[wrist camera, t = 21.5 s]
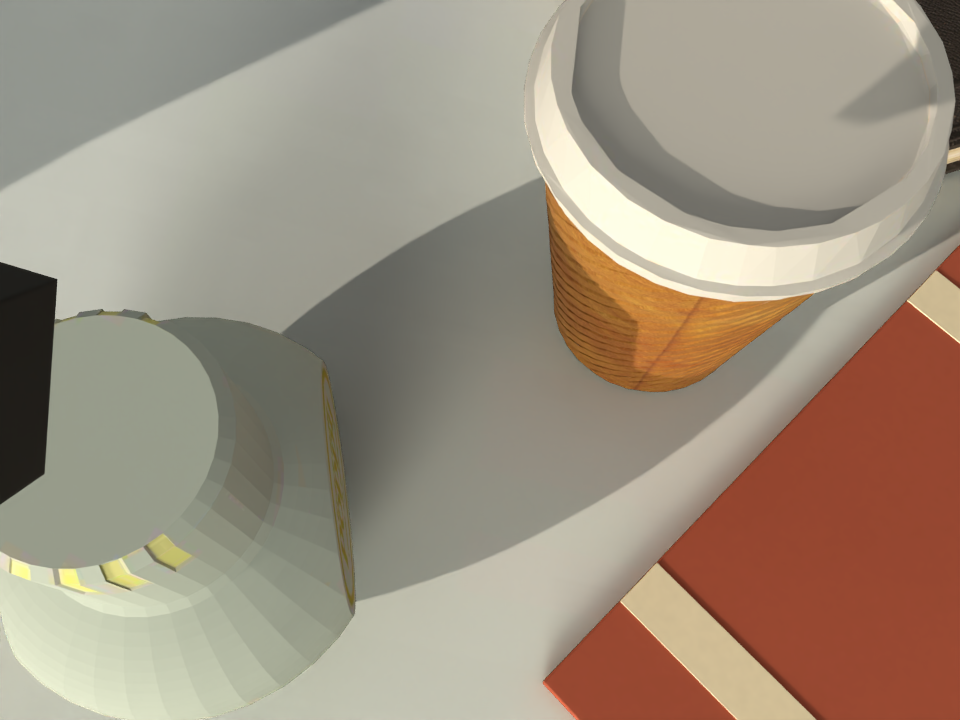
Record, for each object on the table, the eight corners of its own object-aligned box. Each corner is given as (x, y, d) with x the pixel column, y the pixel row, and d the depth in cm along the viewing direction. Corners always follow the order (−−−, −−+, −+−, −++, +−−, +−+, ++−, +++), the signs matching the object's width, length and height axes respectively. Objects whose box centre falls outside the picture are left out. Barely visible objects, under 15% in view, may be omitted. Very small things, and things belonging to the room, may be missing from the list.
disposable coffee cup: (608, 137, 33) (682, -160, 21) (839, 281, 31) (1053, 36, 19) (448, 328, 30) (435, 102, 19) (691, 500, 28) (840, 362, 17)
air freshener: (372, 693, 26) (317, 685, 16) (78, 743, 25) (-151, 765, 16) (333, 343, 30) (271, 177, 20) (77, 381, 29) (-108, 227, 20)
